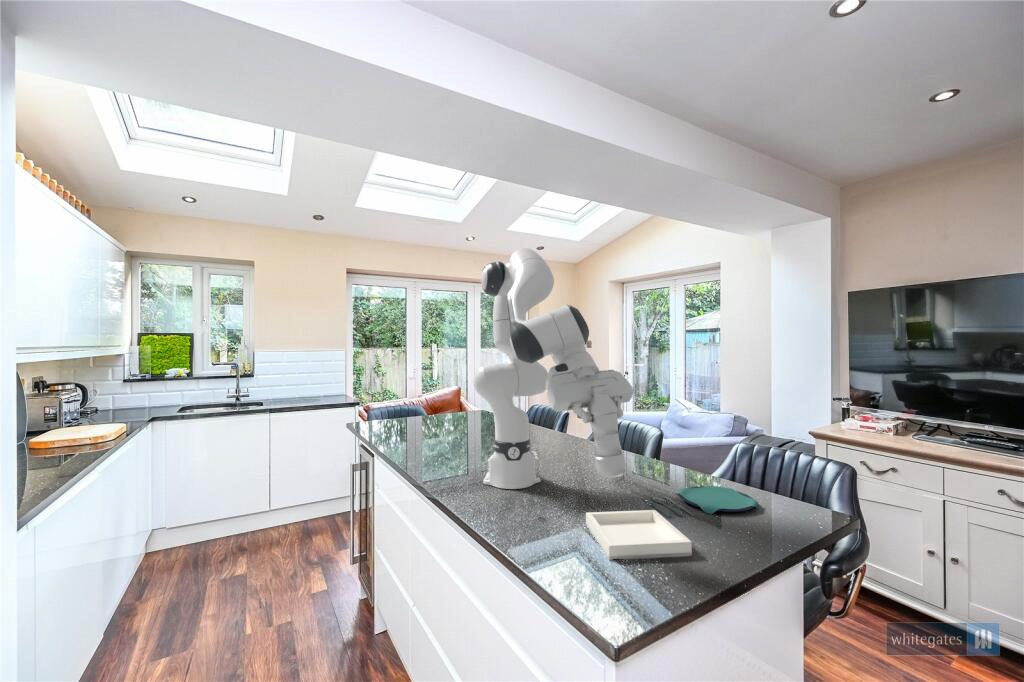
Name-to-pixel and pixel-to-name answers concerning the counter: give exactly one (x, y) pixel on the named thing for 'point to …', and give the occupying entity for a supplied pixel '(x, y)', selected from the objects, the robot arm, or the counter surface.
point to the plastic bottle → (605, 434)
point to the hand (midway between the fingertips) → (604, 418)
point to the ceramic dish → (637, 535)
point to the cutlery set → (710, 500)
